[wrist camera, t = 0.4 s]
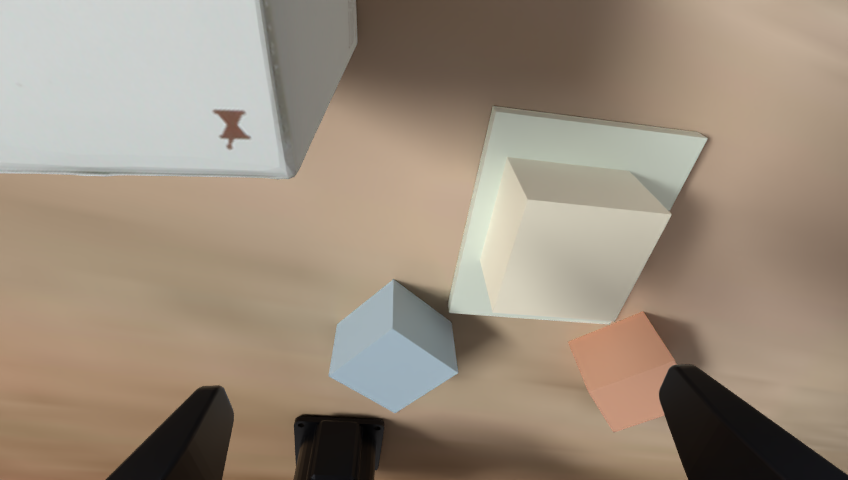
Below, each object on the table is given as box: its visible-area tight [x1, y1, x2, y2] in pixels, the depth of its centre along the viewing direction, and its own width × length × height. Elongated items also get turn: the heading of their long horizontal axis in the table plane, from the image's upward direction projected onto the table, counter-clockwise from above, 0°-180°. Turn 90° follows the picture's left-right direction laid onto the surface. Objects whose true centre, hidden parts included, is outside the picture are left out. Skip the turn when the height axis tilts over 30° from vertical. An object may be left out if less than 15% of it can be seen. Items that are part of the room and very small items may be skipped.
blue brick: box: [329, 279, 458, 413], centre depth 26 cm, size 5×5×4 cm
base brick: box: [480, 157, 672, 322], centre depth 20 cm, size 6×6×4 cm
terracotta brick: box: [568, 312, 676, 432], centre depth 28 cm, size 5×5×4 cm
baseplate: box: [448, 106, 708, 325], centre depth 23 cm, size 12×10×1 cm
